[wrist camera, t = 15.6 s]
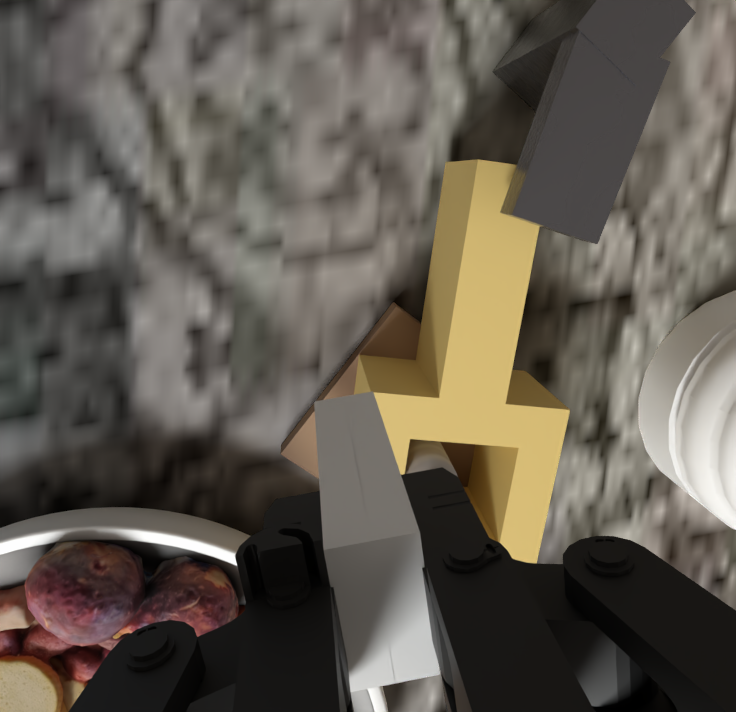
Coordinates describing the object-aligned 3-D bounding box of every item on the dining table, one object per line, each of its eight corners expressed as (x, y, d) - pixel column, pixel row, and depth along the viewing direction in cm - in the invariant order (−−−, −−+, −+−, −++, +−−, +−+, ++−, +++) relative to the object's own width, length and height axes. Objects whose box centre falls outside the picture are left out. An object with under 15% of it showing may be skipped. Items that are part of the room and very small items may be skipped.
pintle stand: (393, 301, 34) (422, 342, 26) (530, 406, 36) (597, 473, 28) (281, 445, 36) (275, 526, 27) (420, 536, 38) (453, 636, 30)
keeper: (532, 18, 31) (635, -51, 21) (614, 97, 32) (746, 65, 23) (415, 173, 32) (463, 173, 23) (498, 243, 34) (576, 269, 24)
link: (495, 521, 37) (531, 585, 31) (339, 510, 36) (346, 575, 30) (563, 178, 32) (620, 179, 26) (384, 153, 31) (403, 149, 25)
